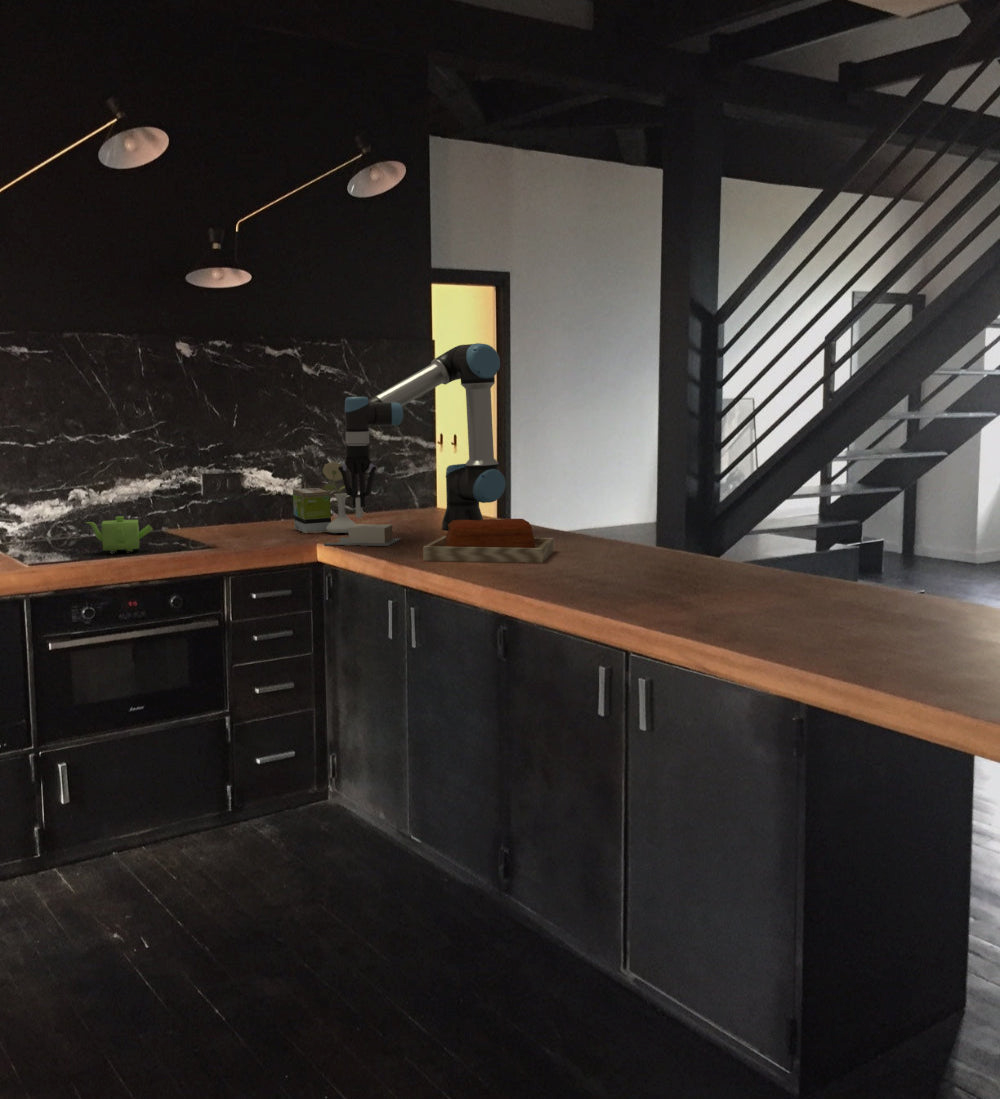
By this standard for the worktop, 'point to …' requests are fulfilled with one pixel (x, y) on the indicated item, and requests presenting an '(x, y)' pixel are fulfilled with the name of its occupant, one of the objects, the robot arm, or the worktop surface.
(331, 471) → the flower in vase
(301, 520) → the tea box
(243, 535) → the worktop surface
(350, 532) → the block
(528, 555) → the wooden tray
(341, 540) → the mat
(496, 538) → the bread
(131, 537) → the kettle
